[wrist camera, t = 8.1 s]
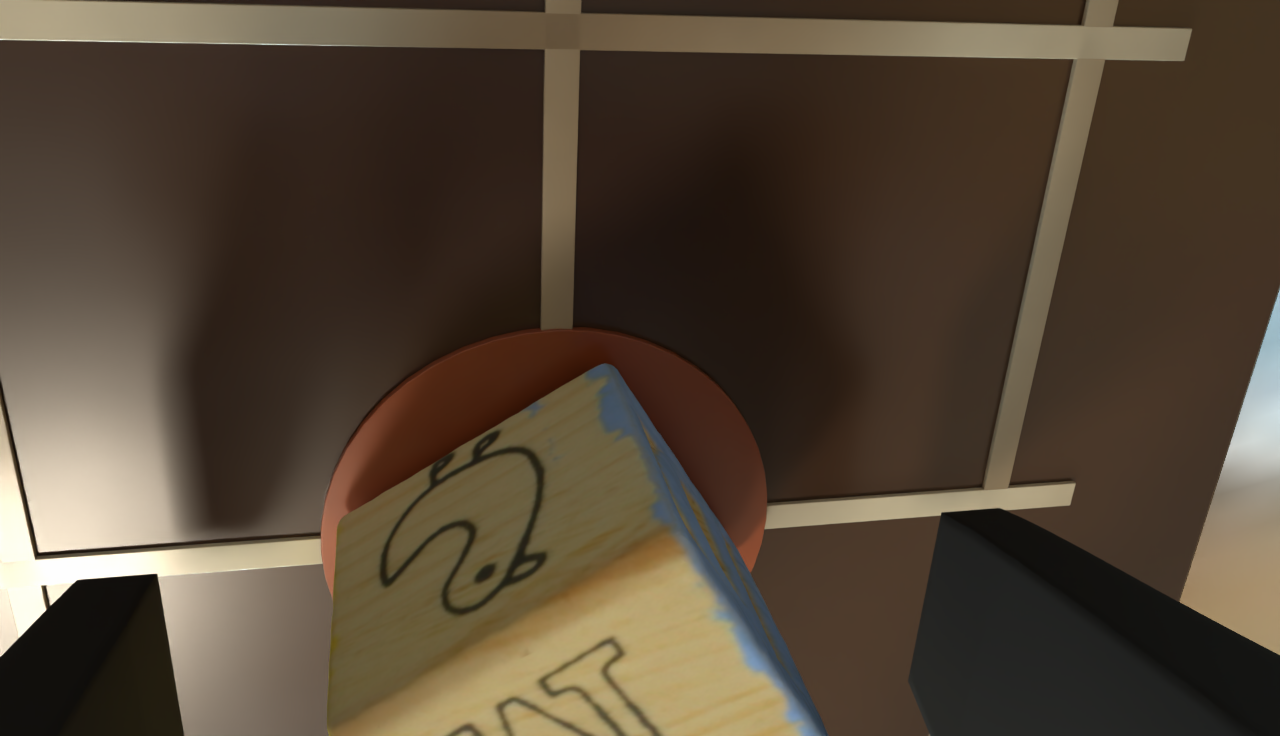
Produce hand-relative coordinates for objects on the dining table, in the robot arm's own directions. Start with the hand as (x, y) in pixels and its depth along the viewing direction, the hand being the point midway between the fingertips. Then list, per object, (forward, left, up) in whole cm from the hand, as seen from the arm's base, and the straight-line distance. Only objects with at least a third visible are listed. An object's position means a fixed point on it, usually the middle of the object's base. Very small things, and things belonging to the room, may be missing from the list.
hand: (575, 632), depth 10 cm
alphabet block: (0, 0, -2) cm, 2 cm away
